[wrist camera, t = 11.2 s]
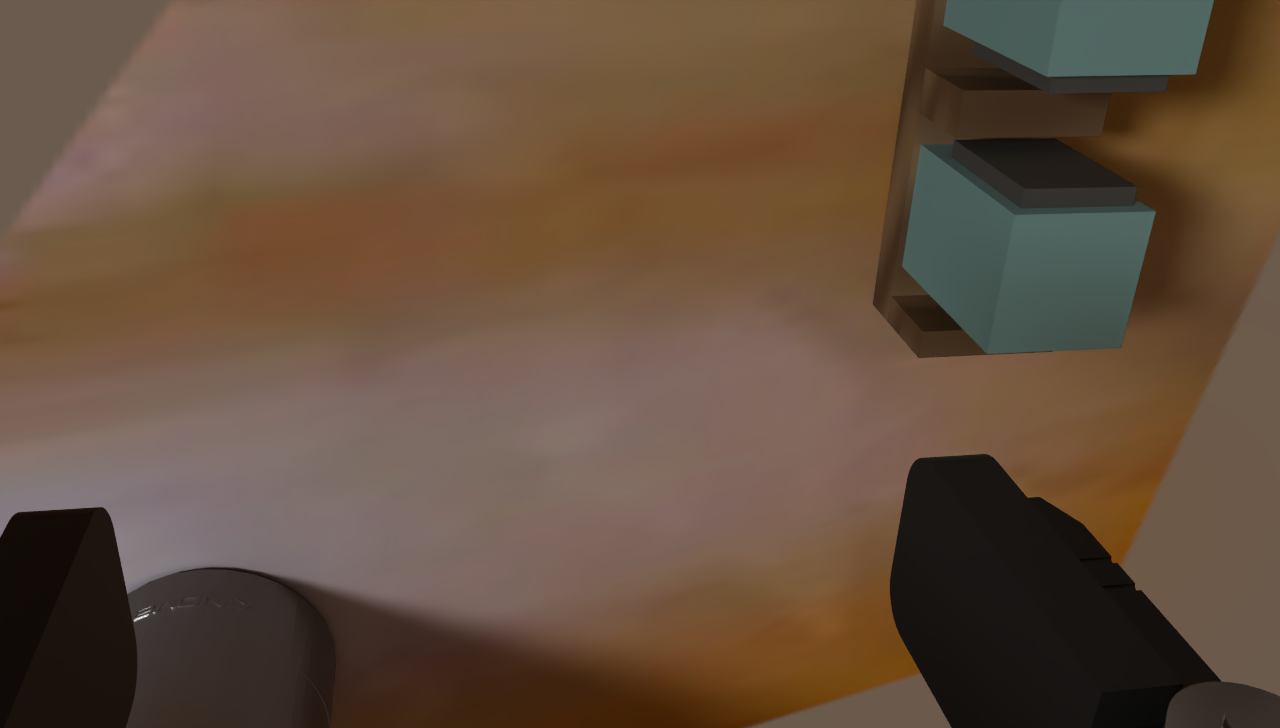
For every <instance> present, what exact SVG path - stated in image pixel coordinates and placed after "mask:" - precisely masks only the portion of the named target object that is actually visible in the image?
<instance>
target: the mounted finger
mask: <svg viewBox="0 0 1280 728" xmlns="http://www.w3.org/2000/svg"><path fill="white" fill-rule="evenodd" d="M1136 192H1137V186H1135V185H1134V184H1132V183H1130V182H1129V181H1127V180H1125V179H1123V178H1122V177H1120V176H1118V175H1117V174H1115V173H1113V172H1112V171H1110V170H1108V169H1106V168H1105V167H1103V166H1101V165H1100V164H1098V163H1096V162H1094V161H1093V160H1091V159H1089V158H1088V157H1086V156H1084V155H1083V154H1081V153H1079V152H1077V151H1076V150H1074V149H1072V148H1071V147H1069V146H1067V145H1065V144H1064V143H1062V142H1060V141H1059V140H1057V139H974V140H954V144H921V147H920V154H919V160H918V167H917V173H916V180H915V186H914V193H913V199H912V205H911V212H910V218H909V225H908V231H907V238H906V244H905V251H904V257H903V264H902V267H903V268H904V269H905V270H906V271H907V272H908V273H909V274H910V275H911V276H912V277H913V278H914V279H915V280H916V281H917V283H918V284H919V285H920V286H921V287H922V288H923V289H924V290H925V291H926V292H927V293H928V294H929V295H930V296H931V297H932V298H933V299H934V300H935V301H936V302H937V303H938V304H939V305H940V306H941V307H942V308H943V309H944V310H945V311H946V312H947V313H948V314H949V315H950V316H951V317H952V318H953V320H954V321H955V322H956V323H957V324H958V325H959V326H960V327H961V328H962V329H963V330H964V331H965V332H966V333H967V334H968V335H969V336H970V337H971V338H972V339H973V340H974V341H975V342H976V343H977V344H978V345H979V346H980V347H981V348H982V349H983V350H984V351H985V352H986V353H987V354H998V353H1020V352H1041V351H1063V350H1084V349H1106V348H1121V346H1122V342H1123V338H1124V334H1125V330H1126V326H1127V322H1128V318H1129V315H1130V311H1131V307H1132V303H1133V299H1134V295H1135V291H1136V287H1137V283H1138V280H1139V276H1140V272H1141V268H1142V264H1143V260H1144V256H1145V252H1146V248H1147V245H1148V241H1149V237H1150V233H1151V229H1152V225H1153V221H1154V217H1155V213H1156V211H1154V210H1153V209H1151V208H1149V207H1148V206H1146V205H1145V204H1143V203H1141V202H1140V201H1138V200H1136V199H1135V196H1136Z"/></svg>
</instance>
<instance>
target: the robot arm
mask: <svg viewBox="0 0 1280 728" xmlns="http://www.w3.org/2000/svg"><path fill="white" fill-rule="evenodd" d="M890 598H891V606H892V612H893V617H894V620H895V624H896V627H897V629H898V632H899V634H900V636H901V638H902V640H903V642H904V644H905V645H906V647H907V649H908V651H909V653H910V654H911V656H912V658H913V660H914V661H915V663H916V665H917V667H918V669H919V670H920V672H921V674H922V676H923V677H924V679H925V681H926V683H927V685H928V686H929V688H930V690H931V692H932V693H933V695H934V697H935V699H936V701H937V702H938V704H939V706H940V708H941V710H942V711H943V713H944V715H945V717H946V718H947V720H948V722H949V724H950V726H951V727H952V728H1280V696H1278V695H1276V694H1273V693H1270V692H1267V691H1265V690H1262V689H1259V688H1255V687H1251V686H1248V685H1244V684H1238V683H1232V682H1222V681H1221V680H1220V679H1219V678H1218V677H1217V676H1216V675H1215V673H1214V672H1213V671H1212V670H1211V669H1210V668H1209V667H1208V665H1207V664H1206V663H1205V662H1204V661H1203V660H1202V659H1201V658H1200V656H1199V655H1198V654H1197V653H1196V652H1195V651H1194V650H1193V648H1192V647H1191V646H1190V645H1189V644H1188V643H1187V642H1186V641H1185V639H1184V638H1183V637H1182V636H1181V635H1180V634H1179V633H1178V631H1177V630H1176V629H1175V628H1174V627H1173V626H1172V625H1171V624H1170V622H1169V621H1168V620H1167V619H1166V618H1165V617H1164V616H1163V614H1162V613H1161V612H1160V611H1159V610H1158V609H1157V608H1156V607H1155V605H1154V604H1153V603H1152V602H1151V601H1150V600H1149V599H1148V597H1147V596H1146V595H1145V594H1144V593H1143V592H1142V591H1141V590H1138V591H1136V589H1135V583H1134V582H1133V580H1132V579H1131V578H1130V577H1129V576H1128V575H1127V574H1126V573H1125V571H1124V570H1123V569H1122V568H1121V567H1120V566H1119V565H1118V563H1112V561H1111V555H1110V554H1109V553H1108V552H1107V551H1106V550H1105V549H1104V548H1103V546H1102V545H1101V544H1100V543H1099V542H1098V541H1097V540H1096V538H1095V537H1094V536H1093V535H1092V534H1091V533H1090V532H1089V531H1088V529H1087V528H1086V527H1085V526H1084V525H1083V524H1082V523H1080V522H1079V521H1077V520H1076V519H1074V518H1072V517H1071V516H1069V515H1068V514H1066V513H1064V512H1063V511H1061V510H1060V509H1058V508H1056V507H1055V506H1053V505H1052V504H1050V503H1048V502H1047V501H1045V500H1044V499H1042V498H1040V497H1034V498H1027V497H1026V496H1025V494H1024V493H1023V492H1022V491H1021V490H1020V488H1019V487H1018V486H1017V485H1016V484H1015V482H1014V481H1013V480H1012V479H1011V478H1010V476H1009V475H1008V474H1007V473H1006V472H1005V470H1004V469H1003V468H1002V467H1001V466H1000V464H999V463H998V462H997V461H996V460H995V459H994V458H993V457H991V456H990V455H987V454H978V455H962V456H946V457H930V458H919V459H917V460H916V461H915V462H914V463H913V465H912V466H911V468H910V471H909V474H908V478H907V483H906V489H905V495H904V501H903V507H902V512H901V518H900V524H899V530H898V536H897V541H896V547H895V553H894V559H893V564H892V570H891V577H890ZM335 666H336V660H335V649H334V643H333V640H332V638H331V635H330V633H329V630H328V627H327V625H326V624H325V623H324V621H323V620H322V618H321V617H320V616H319V614H318V613H317V611H316V610H315V609H314V608H313V607H312V606H311V605H309V604H308V603H307V602H306V601H305V600H304V599H303V598H302V597H300V596H299V595H298V594H296V593H295V592H293V591H291V590H289V589H288V588H286V587H284V586H282V585H281V584H279V583H277V582H274V581H271V580H268V579H266V578H263V577H260V576H257V575H254V574H249V573H244V572H238V571H232V570H205V569H200V570H194V571H187V572H181V573H175V574H171V575H168V576H165V577H162V578H159V579H157V580H154V581H151V582H148V583H147V584H145V585H143V586H141V587H139V588H138V589H136V590H134V591H132V592H131V593H129V594H127V591H126V586H125V581H124V576H123V571H122V567H121V562H120V557H119V552H118V547H117V542H116V537H115V532H114V528H113V524H112V521H111V518H110V516H109V514H108V512H107V511H106V509H104V508H103V507H97V508H81V509H65V510H49V511H33V512H18V513H16V514H15V515H13V516H12V518H11V519H10V521H9V522H8V524H7V526H6V528H5V530H4V532H3V534H2V536H1V537H0V728H331V716H332V703H333V691H334V679H335Z"/></svg>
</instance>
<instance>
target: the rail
mask: <svg viewBox="0 0 1280 728" xmlns="http://www.w3.org/2000/svg"><path fill="white" fill-rule="evenodd" d="M946 3H947V0H917V3H916V10H915V17H914V24H913V31H912V38H911V44H910V51H909V58H908V65H907V72H906V79H905V86H904V93H903V100H902V107H901V114H900V120H899V127H898V134H897V141H896V148H895V155H894V162H893V169H892V176H891V183H890V190H889V196H888V203H887V210H886V217H885V224H884V231H883V238H882V245H881V252H880V259H879V266H878V273H877V279H876V286H875V293H874V300H873V305H874V306H875V307H876V308H877V310H878V311H879V312H880V313H881V314H882V316H883V317H884V318H885V319H886V320H887V321H888V323H889V324H890V325H891V326H892V327H893V328H894V330H895V331H896V332H897V333H898V334H899V335H900V337H901V338H902V339H903V340H904V341H905V343H906V344H907V345H908V346H909V347H910V348H911V350H912V351H913V352H914V353H915V354H916V355H917V357H918V358H928V357H949V356H971V355H992V354H987V353H986V352H985V351H984V350H983V349H982V348H981V347H980V346H979V345H978V344H977V343H976V342H975V341H974V340H973V339H972V338H971V337H970V336H969V335H968V334H967V333H966V332H965V331H964V330H963V329H962V328H961V327H960V326H959V325H958V324H957V323H956V322H955V321H954V320H953V318H952V317H951V316H950V315H949V314H948V313H947V312H946V311H945V310H944V309H943V308H942V307H941V306H940V305H939V304H938V303H937V302H936V301H935V300H934V299H933V298H932V297H931V296H930V295H929V294H928V293H927V292H926V291H925V290H924V289H923V288H922V287H921V286H920V285H919V284H918V283H917V281H916V280H915V279H914V278H913V277H912V276H911V275H910V274H909V273H908V272H907V271H906V270H905V269H904V268H903V267H902V264H903V257H904V251H905V244H906V238H907V231H908V225H909V218H910V212H911V205H912V199H913V193H914V186H915V180H916V173H917V167H918V160H919V154H920V147H921V144H954V140H974V139H1050V137H1094V136H1101V135H1102V131H1103V126H1104V122H1105V118H1106V113H1107V109H1108V104H1109V100H1110V96H1111V93H1060V94H1049V93H1047V92H1045V91H1043V90H1041V89H1039V88H1037V87H1035V86H1033V85H1031V84H1029V83H1028V82H1026V81H1024V80H1022V79H1020V78H1018V77H1016V76H1014V75H1012V74H1010V73H1008V72H1006V71H1004V70H1003V69H1001V68H999V67H997V66H995V65H993V64H991V63H989V62H987V61H985V60H983V59H981V58H980V57H978V56H976V55H974V54H973V50H974V44H975V41H974V40H972V39H970V38H968V37H966V36H964V35H962V34H960V33H958V32H956V31H954V30H952V29H950V28H948V27H946V26H944V25H943V24H944V17H945V10H946ZM1041 352H1052V351H1041ZM1020 353H1035V352H1020ZM998 354H1014V353H998Z"/></svg>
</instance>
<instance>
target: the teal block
mask: <svg viewBox="0 0 1280 728" xmlns="http://www.w3.org/2000/svg"><path fill="white" fill-rule="evenodd" d="M1213 2H1214V0H947V3H946V10H945V17H944V24H943V25H944V26H946V27H948V28H950V29H952V30H954V31H956V32H958V33H960V34H962V35H964V36H966V37H968V38H970V39H972V40H974V41H975V44H974V50H973V54H974V55H976V56H978V57H980V58H981V59H983V60H985V61H987V62H989V63H991V64H993V65H995V66H997V67H999V68H1001V69H1003V70H1004V71H1006V72H1008V73H1010V74H1012V75H1014V76H1016V77H1018V78H1020V79H1022V80H1024V81H1026V82H1028V83H1029V84H1031V85H1033V86H1035V87H1037V88H1039V89H1041V90H1043V91H1045V92H1047V93H1049V94H1060V93H1113V92H1166V89H1167V84H1168V80H1169V76H1170V75H1186V74H1196V71H1197V67H1198V63H1199V59H1200V55H1201V51H1202V47H1203V43H1204V39H1205V35H1206V31H1207V27H1208V23H1209V18H1210V14H1211V10H1212V6H1213Z"/></svg>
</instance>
